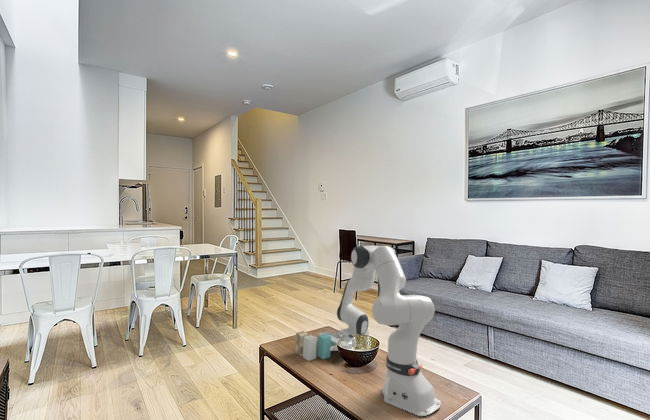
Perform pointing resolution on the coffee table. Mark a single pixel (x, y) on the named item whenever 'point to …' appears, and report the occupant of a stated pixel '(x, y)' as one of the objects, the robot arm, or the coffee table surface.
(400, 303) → the robot arm
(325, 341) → the teal block
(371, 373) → the coffee table surface
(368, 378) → the coffee table surface
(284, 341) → the coffee table surface
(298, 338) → the beige carved figurine
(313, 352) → the grey block
